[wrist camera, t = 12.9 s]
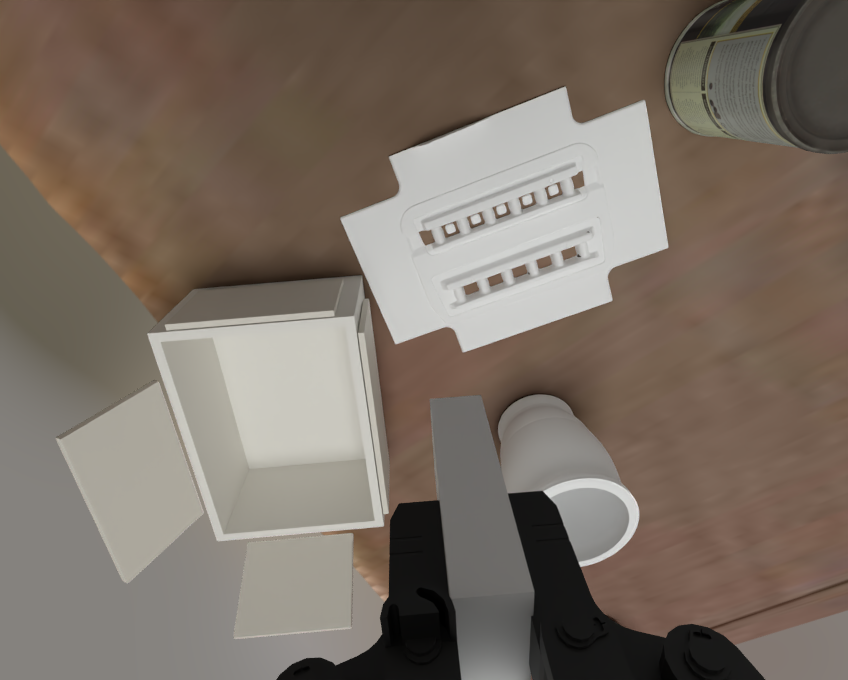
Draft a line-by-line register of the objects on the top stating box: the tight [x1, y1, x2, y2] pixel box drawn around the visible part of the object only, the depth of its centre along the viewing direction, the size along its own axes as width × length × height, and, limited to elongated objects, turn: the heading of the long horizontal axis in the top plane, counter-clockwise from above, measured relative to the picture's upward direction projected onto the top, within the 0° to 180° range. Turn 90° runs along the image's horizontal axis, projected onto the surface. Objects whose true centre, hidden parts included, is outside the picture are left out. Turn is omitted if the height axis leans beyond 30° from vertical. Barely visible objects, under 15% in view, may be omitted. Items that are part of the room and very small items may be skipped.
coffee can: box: [665, 0, 848, 154], centre depth 36 cm, size 10×10×14 cm
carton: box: [147, 275, 390, 541], centre depth 49 cm, size 23×17×10 cm
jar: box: [498, 394, 639, 567], centre depth 51 cm, size 11×10×15 cm
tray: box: [340, 86, 668, 352], centre depth 47 cm, size 20×28×4 cm
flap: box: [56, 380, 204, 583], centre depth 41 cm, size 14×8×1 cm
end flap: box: [233, 533, 354, 639], centre depth 47 cm, size 8×10×1 cm
